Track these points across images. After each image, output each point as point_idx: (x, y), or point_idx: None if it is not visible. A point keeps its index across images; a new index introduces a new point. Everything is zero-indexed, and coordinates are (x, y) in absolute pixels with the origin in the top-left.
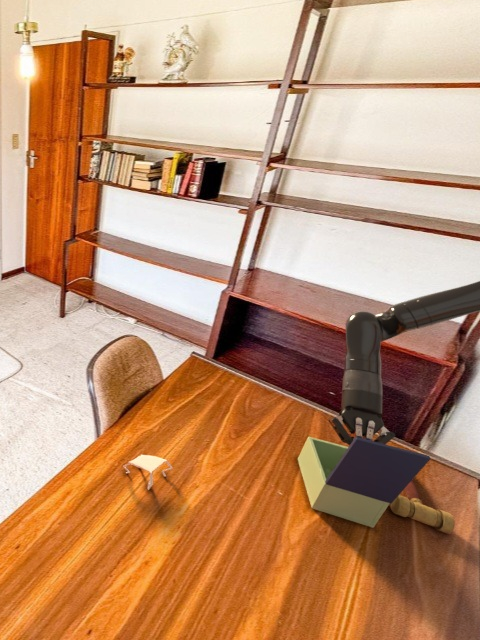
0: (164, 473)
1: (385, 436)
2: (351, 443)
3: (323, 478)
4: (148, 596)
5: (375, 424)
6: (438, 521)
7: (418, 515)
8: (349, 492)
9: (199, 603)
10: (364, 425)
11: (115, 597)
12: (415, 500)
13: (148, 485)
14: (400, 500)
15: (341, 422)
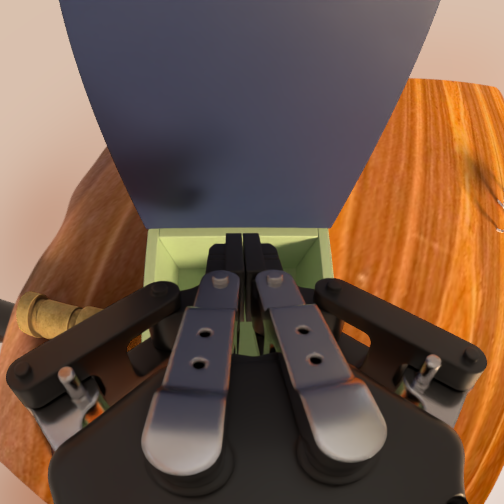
0: (500, 230)
1: (73, 357)
2: (426, 31)
3: (328, 249)
4: (442, 97)
5: (127, 455)
6: (43, 301)
7: (71, 306)
8: (256, 228)
9: (413, 93)
10: (249, 422)
11: (456, 96)
12: None
13: (501, 203)
14: None
15: (438, 364)
